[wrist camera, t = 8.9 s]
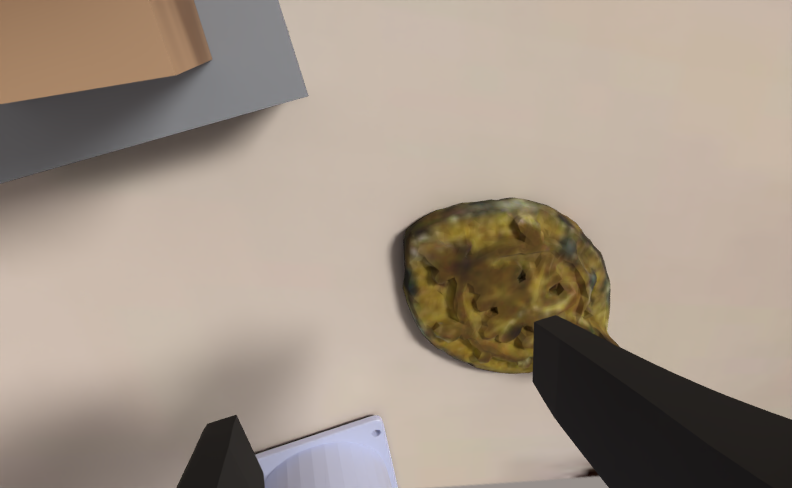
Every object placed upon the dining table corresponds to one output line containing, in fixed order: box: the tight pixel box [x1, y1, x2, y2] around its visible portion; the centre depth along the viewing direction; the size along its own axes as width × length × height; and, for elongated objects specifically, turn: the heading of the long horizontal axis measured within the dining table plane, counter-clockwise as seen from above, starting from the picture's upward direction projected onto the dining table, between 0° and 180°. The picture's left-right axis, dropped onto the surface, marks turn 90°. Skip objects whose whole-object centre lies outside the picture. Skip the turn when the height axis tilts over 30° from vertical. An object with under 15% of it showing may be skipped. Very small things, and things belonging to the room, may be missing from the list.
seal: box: [403, 198, 619, 374], centre depth 21 cm, size 9×5×15 cm
